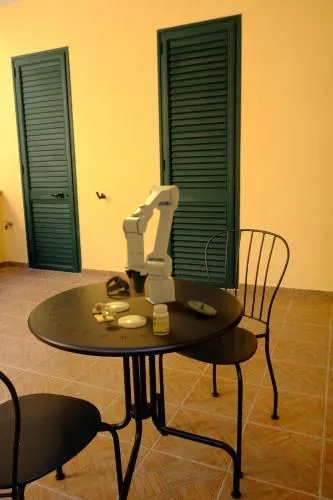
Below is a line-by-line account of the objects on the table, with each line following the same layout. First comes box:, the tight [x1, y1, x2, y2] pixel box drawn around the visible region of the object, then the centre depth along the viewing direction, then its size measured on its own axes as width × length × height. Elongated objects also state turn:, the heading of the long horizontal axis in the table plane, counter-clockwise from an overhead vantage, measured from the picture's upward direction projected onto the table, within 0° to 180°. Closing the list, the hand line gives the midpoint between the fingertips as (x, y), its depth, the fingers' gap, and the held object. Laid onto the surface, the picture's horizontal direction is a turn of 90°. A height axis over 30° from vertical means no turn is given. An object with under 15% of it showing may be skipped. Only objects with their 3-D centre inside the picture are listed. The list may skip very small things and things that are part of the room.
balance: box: [92, 302, 117, 323], centre depth 136 cm, size 5×17×6 cm, turn 24°
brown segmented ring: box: [105, 275, 130, 295], centre depth 167 cm, size 12×10×8 cm
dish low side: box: [105, 301, 130, 313], centre depth 147 cm, size 9×9×1 cm
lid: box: [187, 299, 218, 316], centre depth 139 cm, size 11×10×5 cm
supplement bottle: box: [152, 303, 170, 336], centre depth 122 cm, size 5×5×8 cm
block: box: [128, 278, 146, 299], centre depth 140 cm, size 4×4×6 cm
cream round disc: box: [117, 314, 147, 329], centre depth 132 cm, size 9×9×1 cm
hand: (137, 291), depth 140 cm, fingers closed on block, 4 cm apart
